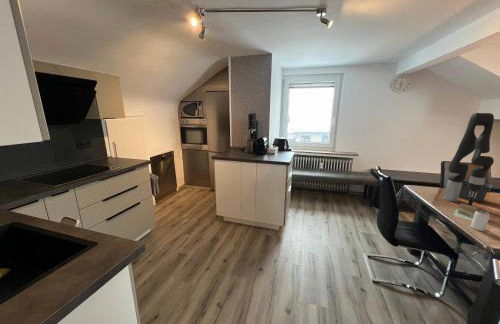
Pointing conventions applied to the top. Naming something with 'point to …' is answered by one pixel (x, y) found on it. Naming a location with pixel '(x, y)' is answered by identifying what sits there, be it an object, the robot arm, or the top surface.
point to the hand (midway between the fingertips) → (469, 204)
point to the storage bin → (480, 193)
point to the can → (480, 220)
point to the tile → (467, 210)
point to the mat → (462, 215)
